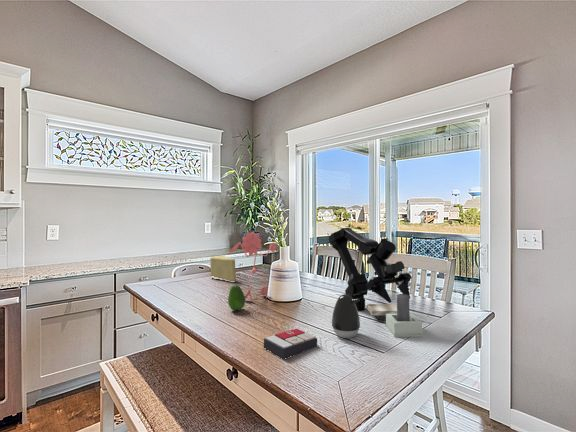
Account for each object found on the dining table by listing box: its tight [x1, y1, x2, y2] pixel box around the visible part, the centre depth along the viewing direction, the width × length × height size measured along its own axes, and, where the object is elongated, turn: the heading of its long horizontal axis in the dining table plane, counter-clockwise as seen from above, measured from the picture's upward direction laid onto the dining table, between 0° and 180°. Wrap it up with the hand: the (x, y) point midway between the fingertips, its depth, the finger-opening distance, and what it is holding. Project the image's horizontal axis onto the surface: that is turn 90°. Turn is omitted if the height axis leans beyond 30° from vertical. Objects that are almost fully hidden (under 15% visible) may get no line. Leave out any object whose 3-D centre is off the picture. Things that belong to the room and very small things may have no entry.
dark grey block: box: [396, 293, 411, 321], centre depth 120 cm, size 4×4×12 cm
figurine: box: [229, 230, 277, 302], centre depth 167 cm, size 15×26×35 cm, turn 128°
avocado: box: [227, 284, 246, 311], centre depth 148 cm, size 8×8×12 cm
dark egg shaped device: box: [331, 293, 361, 339], centre depth 117 cm, size 10×10×15 cm
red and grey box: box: [263, 328, 318, 360], centre depth 109 cm, size 11×4×15 cm
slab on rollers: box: [366, 303, 397, 321], centre depth 135 cm, size 14×9×4 cm, turn 90°
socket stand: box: [385, 312, 423, 338], centre depth 120 cm, size 10×10×5 cm
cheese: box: [209, 255, 237, 282], centre depth 208 cm, size 22×10×15 cm, turn 43°
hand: (400, 300), depth 122 cm, fingers open, 9 cm apart
